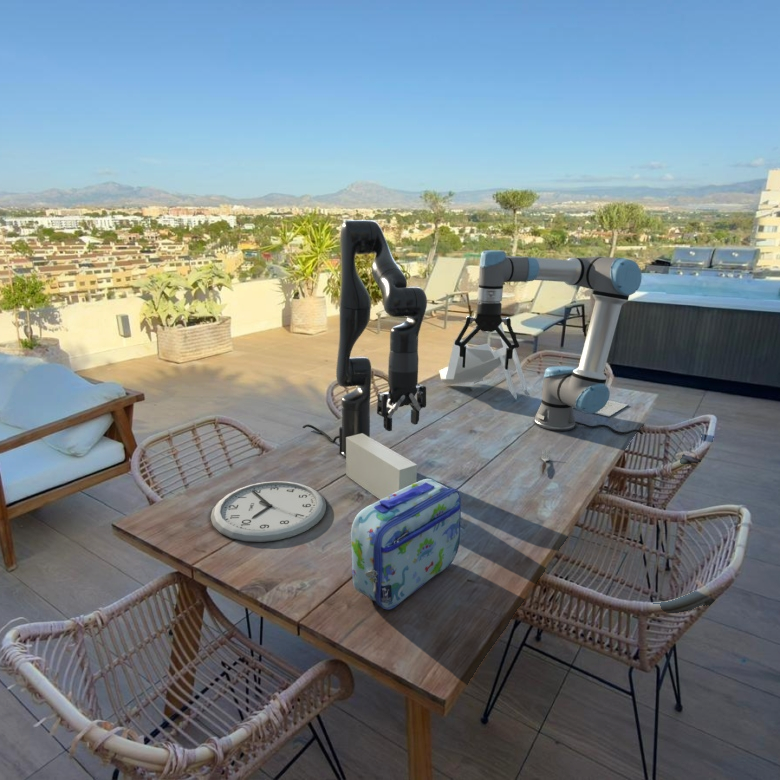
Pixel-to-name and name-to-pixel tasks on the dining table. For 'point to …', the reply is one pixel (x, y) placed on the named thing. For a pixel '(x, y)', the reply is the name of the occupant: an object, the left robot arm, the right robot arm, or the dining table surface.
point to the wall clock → (268, 511)
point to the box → (377, 466)
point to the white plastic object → (480, 365)
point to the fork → (545, 460)
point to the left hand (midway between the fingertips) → (401, 426)
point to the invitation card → (611, 408)
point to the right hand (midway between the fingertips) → (484, 367)
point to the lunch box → (405, 541)
